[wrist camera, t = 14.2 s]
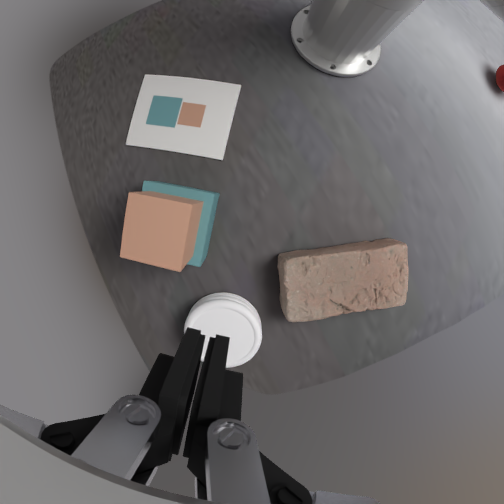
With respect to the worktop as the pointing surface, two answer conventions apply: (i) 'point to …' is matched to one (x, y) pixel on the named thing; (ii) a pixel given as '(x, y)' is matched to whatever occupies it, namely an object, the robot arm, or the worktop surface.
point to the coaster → (228, 325)
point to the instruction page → (184, 115)
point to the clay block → (160, 229)
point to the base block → (206, 214)
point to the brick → (342, 279)
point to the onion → (500, 77)
